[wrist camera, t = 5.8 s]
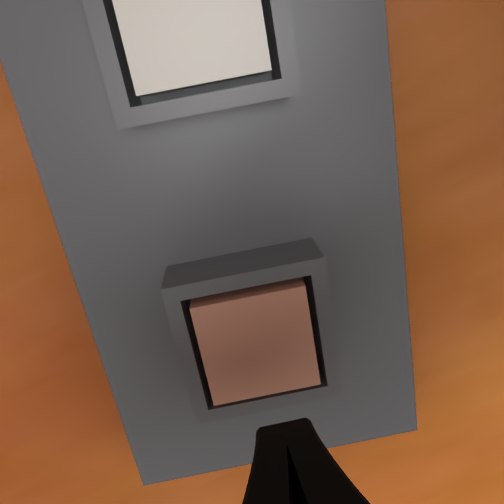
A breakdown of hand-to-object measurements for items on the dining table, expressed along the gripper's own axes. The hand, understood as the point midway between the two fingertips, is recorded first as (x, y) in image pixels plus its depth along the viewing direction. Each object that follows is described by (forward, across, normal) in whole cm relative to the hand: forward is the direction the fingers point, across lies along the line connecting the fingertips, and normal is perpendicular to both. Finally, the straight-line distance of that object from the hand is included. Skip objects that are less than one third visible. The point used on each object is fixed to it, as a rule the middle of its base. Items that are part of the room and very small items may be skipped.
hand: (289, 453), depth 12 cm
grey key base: (+10, 0, -6) cm, 12 cm away
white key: (+8, 0, -12) cm, 14 cm away
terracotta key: (+8, 0, 0) cm, 8 cm away
